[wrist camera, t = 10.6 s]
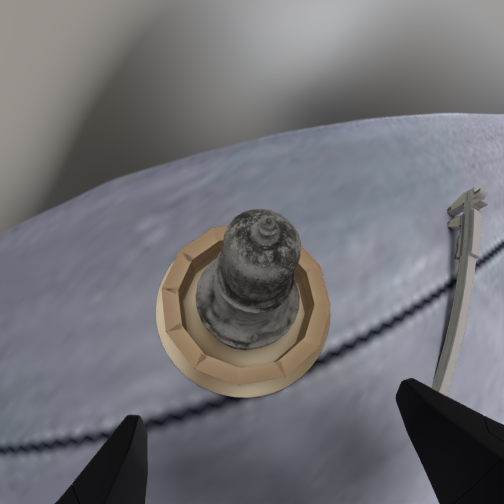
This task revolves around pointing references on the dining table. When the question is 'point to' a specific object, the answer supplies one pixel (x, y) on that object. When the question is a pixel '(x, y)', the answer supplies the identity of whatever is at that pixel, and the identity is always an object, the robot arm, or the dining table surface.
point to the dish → (224, 357)
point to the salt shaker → (252, 282)
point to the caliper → (461, 281)
